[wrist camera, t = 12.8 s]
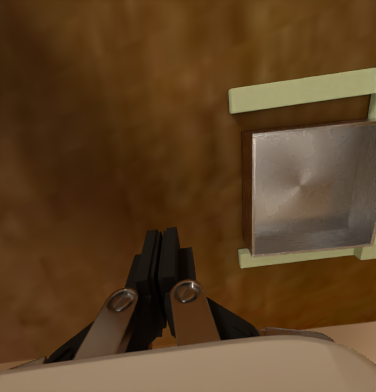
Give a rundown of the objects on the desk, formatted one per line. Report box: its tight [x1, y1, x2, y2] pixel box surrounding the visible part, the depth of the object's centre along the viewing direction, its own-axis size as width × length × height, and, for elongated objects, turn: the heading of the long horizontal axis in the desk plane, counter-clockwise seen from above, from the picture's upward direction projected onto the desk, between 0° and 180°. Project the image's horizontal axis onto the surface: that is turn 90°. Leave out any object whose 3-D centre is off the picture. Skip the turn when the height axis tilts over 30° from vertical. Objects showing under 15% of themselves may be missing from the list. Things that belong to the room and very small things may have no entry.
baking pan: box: [241, 118, 376, 258], centre depth 20 cm, size 12×12×4 cm
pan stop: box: [228, 68, 376, 268], centre depth 21 cm, size 19×15×2 cm
